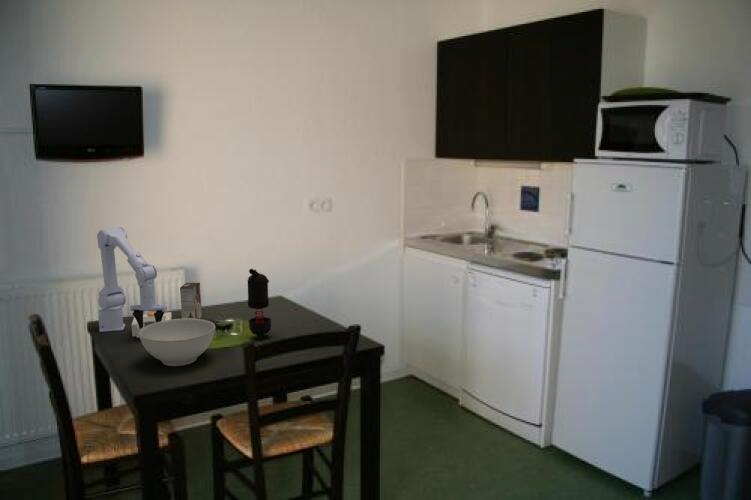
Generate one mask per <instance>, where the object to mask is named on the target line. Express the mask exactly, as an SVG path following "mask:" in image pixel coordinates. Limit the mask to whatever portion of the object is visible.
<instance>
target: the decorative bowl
mask: <svg viewBox="0 0 751 500" xmlns="http://www.w3.org/2000/svg"><path fill="white" fill-rule="evenodd" d="M215 332H216V325H215V323H213V322H212V321H209V320H207V319H201V318H199V319H194V318H182V317H181V318H173V319H171V320H165V321H160V322H156V323H153V324H150V325H147V326H145V327H144V328H142V329H141V330H140V331H139V337H140V338H139V340H140V342H141V344H142V345H143V347H144V348H145V350H146V351H147V352H148V353H149V354H150V355H151V356H152V357H154V358H155V359H157V360H159V361H161V363H162V364H163V365H165V366H169V367H180V366H186V365H190V364H192V363H195V361H197V359H198V357H200V356H201V355H202V354H203V353H204V352H205V351H206V350H207V348H209V346H210V345H211V343H212V341H213V338H214V336H215Z"/></svg>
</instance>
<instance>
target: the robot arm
mask: <svg viewBox="0 0 751 500" xmlns="http://www.w3.org/2000/svg"><path fill="white" fill-rule="evenodd" d="M96 238H97V247H98V249H99V250H100V258H101V267H102V276H103V283H104V287H103V288H102V289H101V290H100V291H98V300H97V302H98V306H99V308H101V309H98V313H97V314H98V315H97V316H98V326H99V327H98V328H99V330H98V331H99V332H100V333H101V332H102V333H103V332H104V333H105V332H112V331H113V332H116V331H124V329H125V327H126V323H124V317H123V315H124V314H123V308H124V305H125V304H126V302H127V297H126V295H125V289H124V288H122V286H119V285H118V284H119V283H118V276H117V266H116V257H115V256H116V255H115V249H116V248H117V247H118V248H119V250H120V251H121V252H122V253H123V254H124V255H125V256H126V257H127V264H129V266H130V267H131V268H132V269H133V271H134V272H135V273H134V274H135V279H136V281H137V285H138V286H139V300H140V301H139V302H140V304H136V305H135V304H132V305H130V306H129V310H130V312H132V316H133V318H134V317H135V319H136V320H137V323H138V325H139V328H140V329H141V328H143V314H144V312H151V311H156V312H155V313H154V316H155V321H156V322H160V321H161V320H162V317H163V315H164V313H167V311H168V308H167V307H168V306H167V305H161V304H160V305H158V304H157V303H156V290H155V279H156V278H157V276H158V273H157V271H158V270H157V268H156V267H155V265H153V264H151V263H148V262H147V261H146V259H145V258H144V257H143V256H142V254H141V253H140V252H136V251H135V250H134V248H133V246H132V245H131V243H130V241H129V240H128V232H127V231H126V229H125V228H124V227H122V226H119V227H113V228H105V229H103V228H102V229H100V230H99V231H98V232H97V234H96Z"/></svg>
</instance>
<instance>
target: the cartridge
mask: <svg viewBox="0 0 751 500" xmlns="http://www.w3.org/2000/svg"><path fill="white" fill-rule="evenodd" d="M153 323H155V321H148V322H144V323H143V328H144V327H145V326H147V325H150V324H153ZM141 329H142V328H141ZM141 329H140V328H139V325H138V327H137V331H136V332H137V336H136V338H137V339H138V338H139V339H140V337H139V331H140V330H141Z"/></svg>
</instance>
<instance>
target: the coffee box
mask: <svg viewBox="0 0 751 500" xmlns="http://www.w3.org/2000/svg"><path fill="white" fill-rule="evenodd" d="M179 292H180V293H179V294H180V308H181V319H182V318H194V319H198V318H199V319H201V318H202V316H203V314H202V299H201V297H202V295H201V282H186V283H183V284H182V286H180V287H179Z"/></svg>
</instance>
